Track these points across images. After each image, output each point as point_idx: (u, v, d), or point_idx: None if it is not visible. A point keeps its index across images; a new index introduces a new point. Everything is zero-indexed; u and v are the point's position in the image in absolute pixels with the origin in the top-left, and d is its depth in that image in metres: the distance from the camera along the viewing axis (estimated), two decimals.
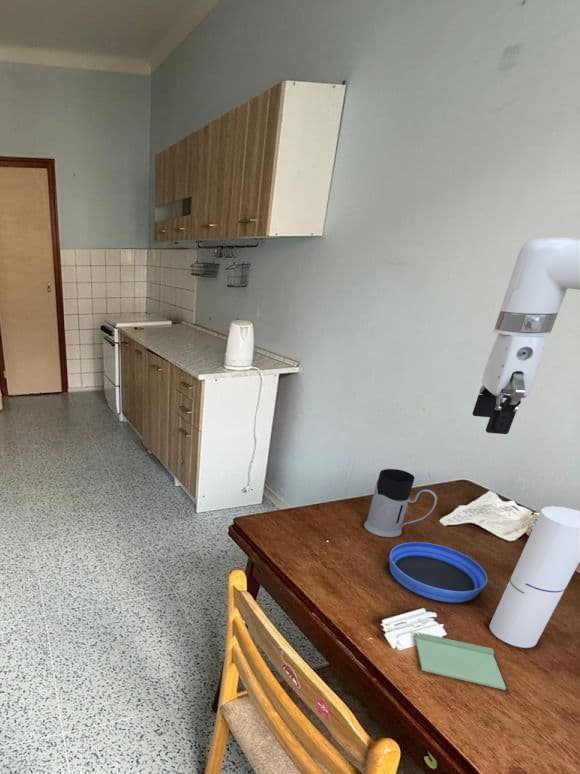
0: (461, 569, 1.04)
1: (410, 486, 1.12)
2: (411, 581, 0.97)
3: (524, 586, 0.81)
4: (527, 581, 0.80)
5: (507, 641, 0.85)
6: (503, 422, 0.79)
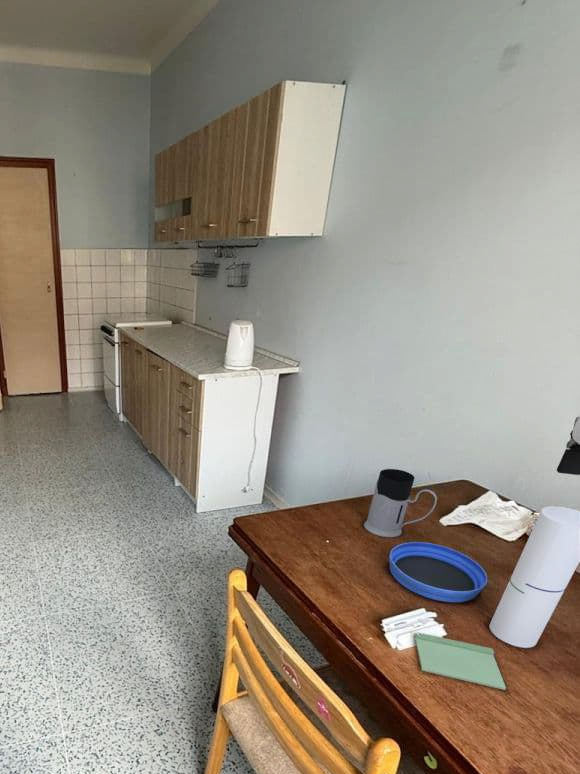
0: (461, 569, 1.04)
1: (410, 486, 1.12)
2: (411, 581, 0.97)
3: (524, 586, 0.81)
4: (527, 581, 0.80)
5: (507, 641, 0.85)
6: None
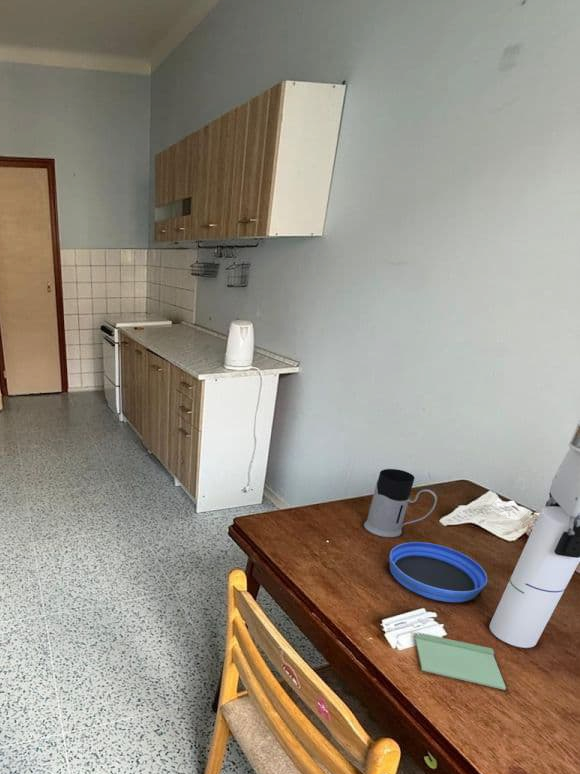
0: (461, 569, 1.04)
1: (410, 486, 1.12)
2: (411, 581, 0.97)
3: (524, 586, 0.81)
4: (527, 581, 0.80)
5: (507, 641, 0.85)
6: (576, 547, 0.73)
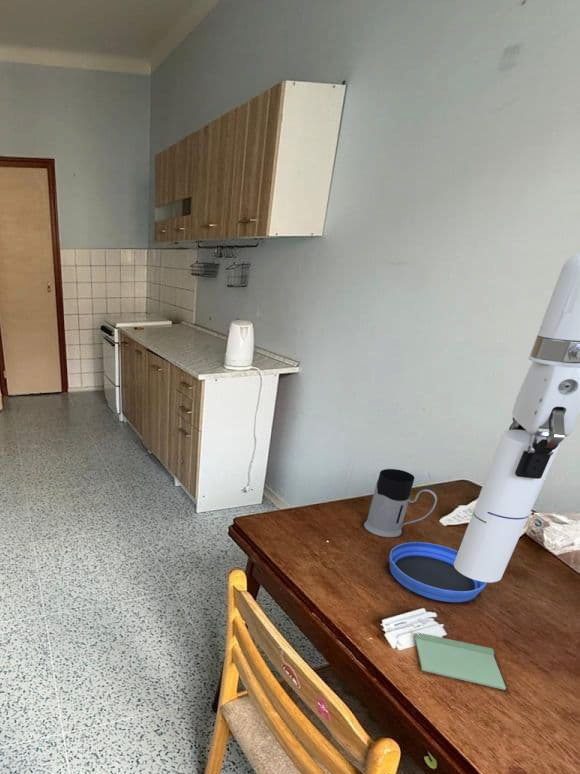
0: None
1: (410, 486, 1.12)
2: (411, 581, 0.97)
3: (486, 515, 0.77)
4: (489, 509, 0.77)
5: (470, 576, 0.82)
6: (536, 466, 0.69)
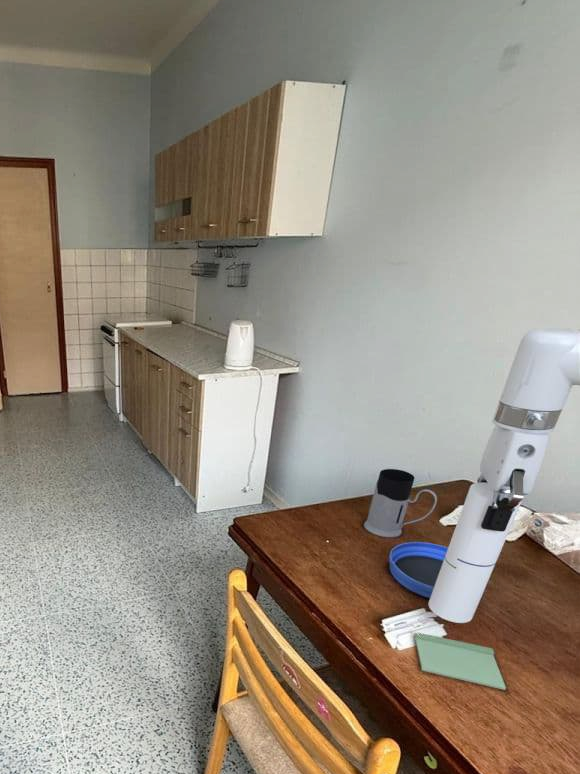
0: None
1: (410, 486, 1.12)
2: (411, 581, 0.97)
3: (456, 561, 0.82)
4: (458, 556, 0.81)
5: (443, 617, 0.87)
6: (500, 520, 0.74)
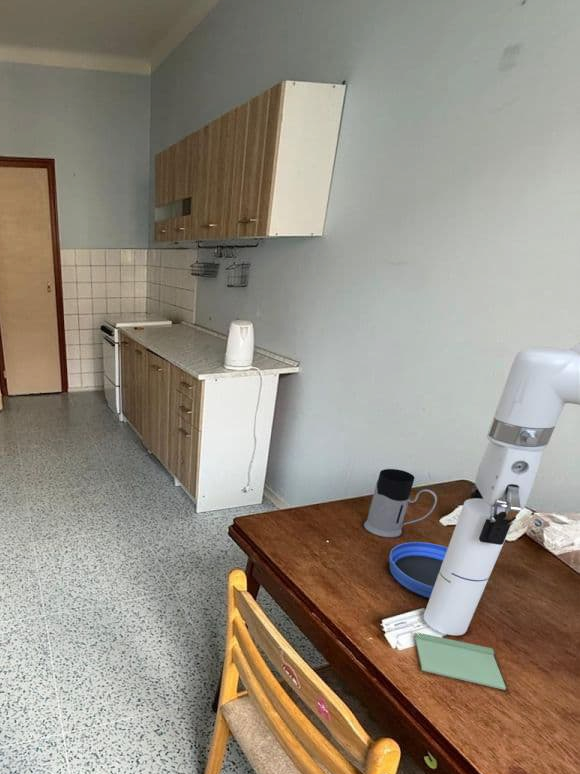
0: None
1: (410, 486, 1.12)
2: (411, 581, 0.97)
3: (450, 575, 0.84)
4: (453, 570, 0.83)
5: (438, 629, 0.88)
6: (497, 534, 0.74)
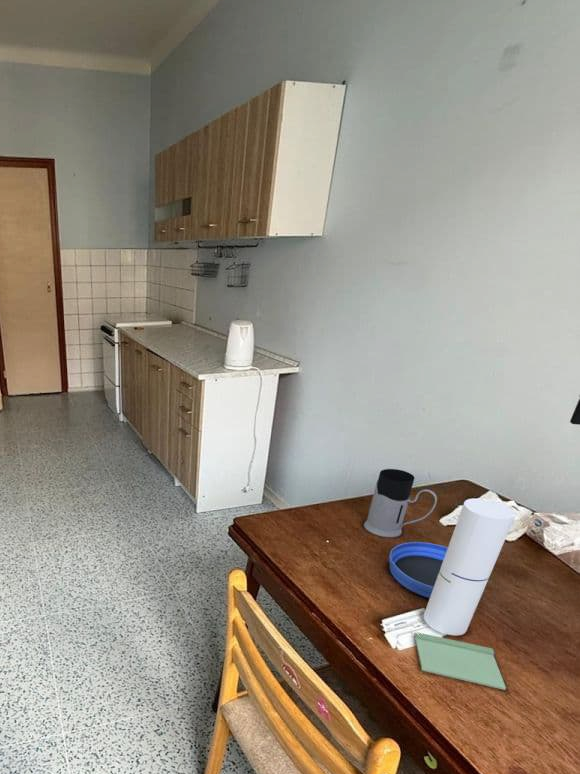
0: None
1: (410, 486, 1.12)
2: (411, 581, 0.97)
3: (450, 575, 0.84)
4: (453, 570, 0.83)
5: (438, 629, 0.88)
6: None
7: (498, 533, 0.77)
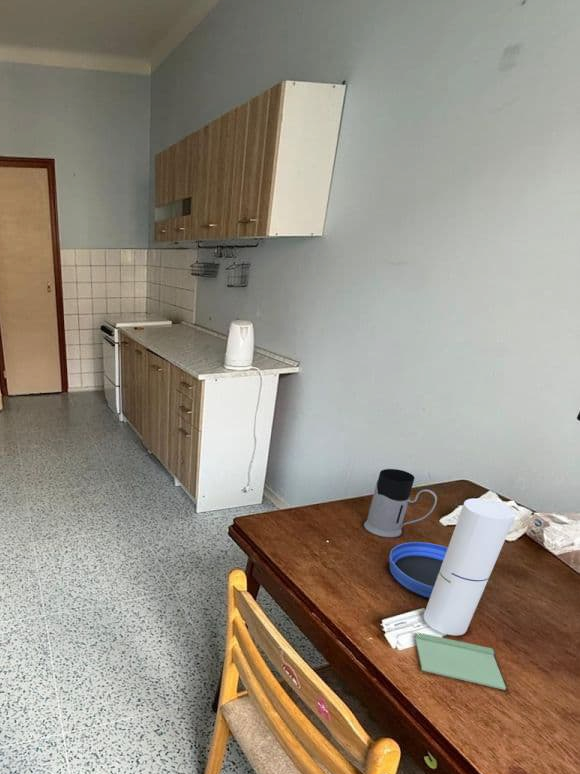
0: None
1: (410, 486, 1.12)
2: (411, 581, 0.97)
3: (450, 575, 0.84)
4: (453, 570, 0.83)
5: (438, 629, 0.88)
6: None
7: (498, 533, 0.77)
